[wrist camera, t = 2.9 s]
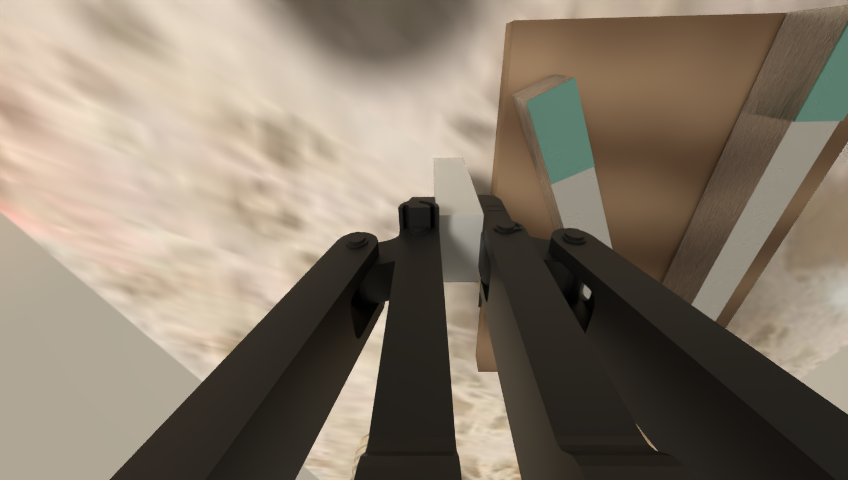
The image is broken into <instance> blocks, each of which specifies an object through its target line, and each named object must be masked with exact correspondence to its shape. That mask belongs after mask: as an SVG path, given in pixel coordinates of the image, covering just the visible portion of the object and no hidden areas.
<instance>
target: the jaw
mask: <svg viewBox="0 0 848 480" xmlns="http://www.w3.org/2000/svg"><path fill="white" fill-rule="evenodd" d="M512 97H513V101H514V104H515V107H516V110H517V113H518V116H519V119H520V122H521V126H522V129H523V132H524V135H525V138H526V141H527V144H528V147H529V151H530V154H531V157H532V160H533V163H534V166H535V169H536V172H537V176H538V179H539V182H540V185H541V188H542V191H543V194H544V197H545V201H546V204H547V207H548V210H549V213H550V216H551V219H552V222H553V226H554V229H555V230H557V229H561V228H573V229H574V228H576V229H579V230H581V231H585V232H587V233H589V234H591V235H593V236H594V237H595V238H597V239H598V240H600V241H601V242H603V243H604V244H605V245H607V246H608V247H610V248H611V249H612V245H611V240H610V236H609V231H608V227H607V222H606V218H605V213H604V209H603V204H602V200H601V195H600V191H599V186H598V182H597V177H596V173H595V168H594V166H595V164H594V160H593V155H592V151H591V146H590V142H589V137H588V132H587V128H586V123H585V119H584V114H583V110H582V105H581V101H580V96H579V92H578V87H577V83H576V78H575V77H569V76H562V75H555V74H552V75H550V76H548V77H546V78H544V79H542V80H540V81H538V82H536V83H534V84H532V85H530V86H528V87H526V88H524V89H522V90H520V91H518V92H516V93H514V94H512ZM612 250H613V249H612ZM582 294H583V295H584V296H585V297H586V298H588V299H589V297H590V295H591V291H590V289H589V288H588V287H587V286H585V285H584V289H583V292H582Z"/></svg>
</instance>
